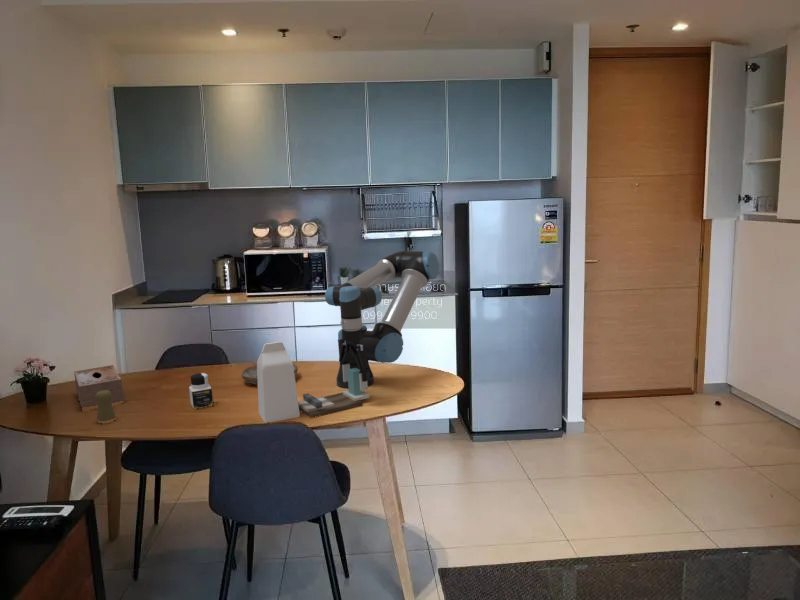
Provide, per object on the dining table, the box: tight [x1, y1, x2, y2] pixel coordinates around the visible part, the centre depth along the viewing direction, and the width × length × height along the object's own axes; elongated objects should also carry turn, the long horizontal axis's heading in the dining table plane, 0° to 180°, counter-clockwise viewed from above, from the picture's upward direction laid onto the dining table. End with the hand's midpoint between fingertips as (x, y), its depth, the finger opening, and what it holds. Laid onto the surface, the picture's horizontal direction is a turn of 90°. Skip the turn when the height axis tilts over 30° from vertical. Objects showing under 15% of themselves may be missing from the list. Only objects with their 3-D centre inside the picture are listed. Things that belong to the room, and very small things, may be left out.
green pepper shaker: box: [95, 390, 116, 421], centre depth 215 cm, size 6×6×11 cm
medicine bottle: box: [188, 372, 214, 410], centre depth 228 cm, size 7×7×12 cm
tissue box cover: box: [73, 364, 125, 409], centre depth 241 cm, size 26×14×10 cm, turn 32°
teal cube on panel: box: [342, 368, 370, 401], centre depth 225 cm, size 10×6×10 cm, turn 32°
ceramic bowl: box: [240, 363, 299, 385], centre depth 256 cm, size 23×24×5 cm
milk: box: [256, 341, 301, 424], centre depth 212 cm, size 12×12×26 cm
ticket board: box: [298, 392, 363, 419], centre depth 220 cm, size 14×20×4 cm
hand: (355, 385), depth 226 cm, fingers open, 13 cm apart
